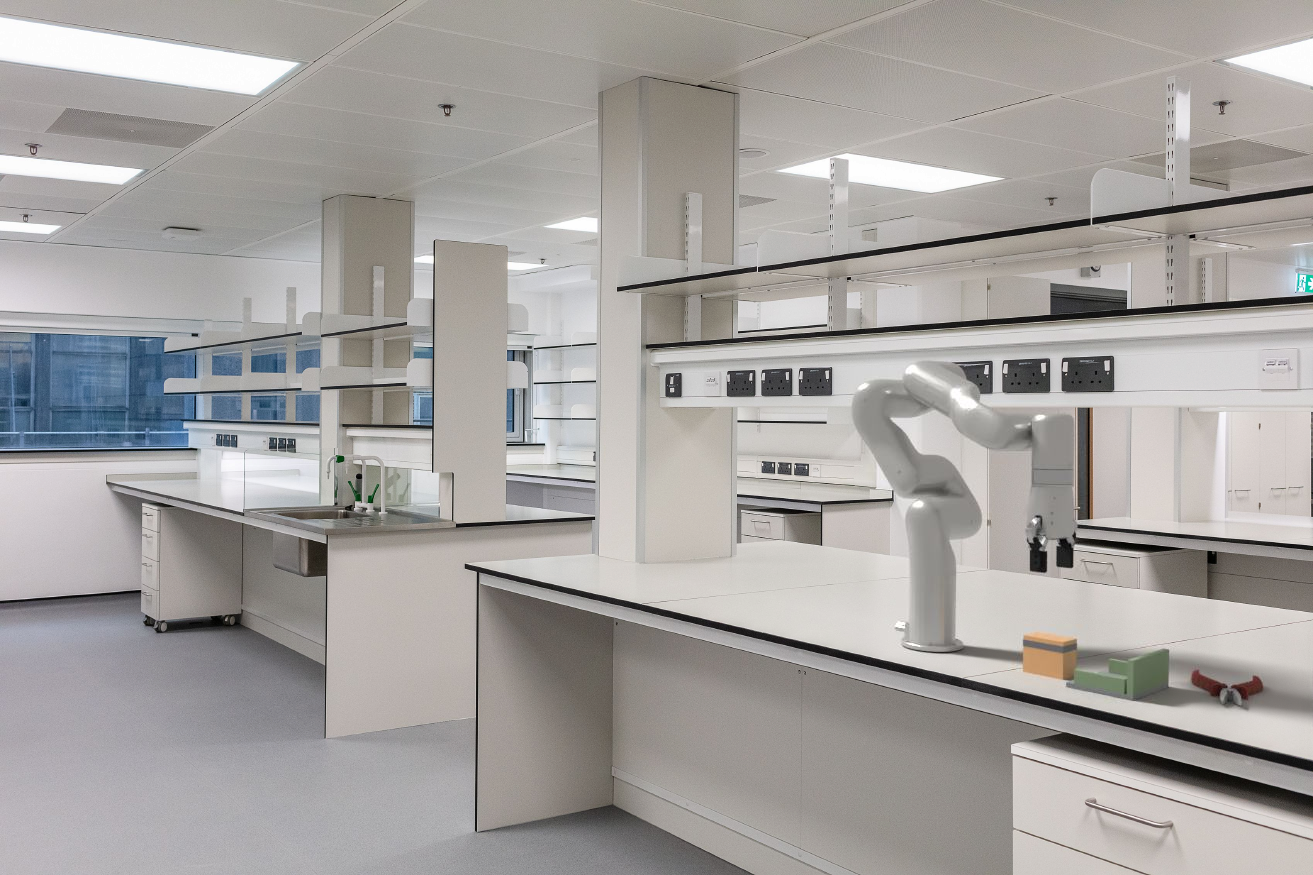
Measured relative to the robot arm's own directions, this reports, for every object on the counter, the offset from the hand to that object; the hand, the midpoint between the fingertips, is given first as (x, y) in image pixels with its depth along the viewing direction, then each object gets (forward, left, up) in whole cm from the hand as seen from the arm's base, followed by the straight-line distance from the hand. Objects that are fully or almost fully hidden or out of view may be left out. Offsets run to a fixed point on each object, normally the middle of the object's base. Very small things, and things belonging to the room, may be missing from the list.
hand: (1051, 569), depth 198 cm
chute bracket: (+13, 0, -20) cm, 23 cm away
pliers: (+26, +11, -20) cm, 35 cm away
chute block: (0, 0, -20) cm, 20 cm away
